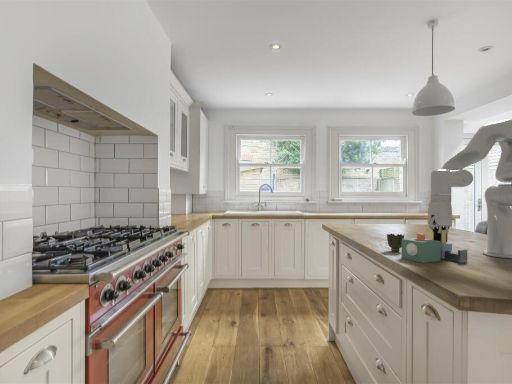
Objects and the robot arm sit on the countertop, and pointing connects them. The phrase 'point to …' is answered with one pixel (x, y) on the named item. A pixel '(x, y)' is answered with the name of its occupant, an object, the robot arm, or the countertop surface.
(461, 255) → the rail
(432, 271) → the countertop surface
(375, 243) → the countertop surface
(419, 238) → the orange peg
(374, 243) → the countertop surface
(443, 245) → the carriage
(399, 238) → the cup
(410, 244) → the green box
